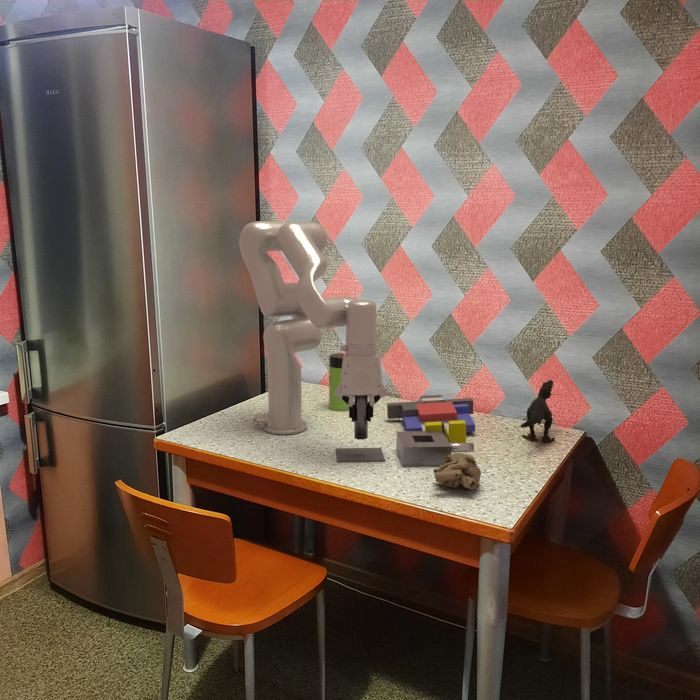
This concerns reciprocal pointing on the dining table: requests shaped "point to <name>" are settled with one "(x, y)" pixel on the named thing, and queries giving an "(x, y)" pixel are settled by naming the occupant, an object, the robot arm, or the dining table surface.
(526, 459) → the dining table surface
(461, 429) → the toy
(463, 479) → the tan lumpy mass
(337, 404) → the tumbler
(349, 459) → the mat
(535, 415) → the toy
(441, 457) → the block
